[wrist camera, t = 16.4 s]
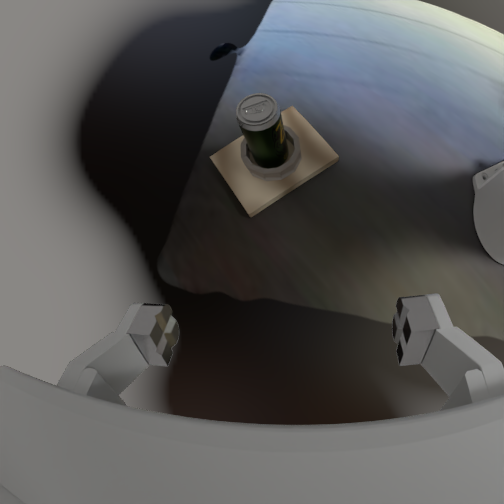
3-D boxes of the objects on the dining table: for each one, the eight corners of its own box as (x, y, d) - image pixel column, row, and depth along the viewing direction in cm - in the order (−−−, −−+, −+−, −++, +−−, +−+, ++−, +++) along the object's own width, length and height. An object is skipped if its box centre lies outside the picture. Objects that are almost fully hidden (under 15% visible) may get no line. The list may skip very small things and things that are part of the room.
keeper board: (293, 111, 46) (290, 96, 43) (338, 160, 43) (339, 148, 39) (212, 161, 48) (204, 149, 44) (250, 217, 44) (244, 209, 41)
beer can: (257, 174, 44) (237, 131, 32) (251, 144, 45) (231, 98, 34) (292, 166, 43) (283, 120, 31) (285, 137, 44) (274, 87, 33)
